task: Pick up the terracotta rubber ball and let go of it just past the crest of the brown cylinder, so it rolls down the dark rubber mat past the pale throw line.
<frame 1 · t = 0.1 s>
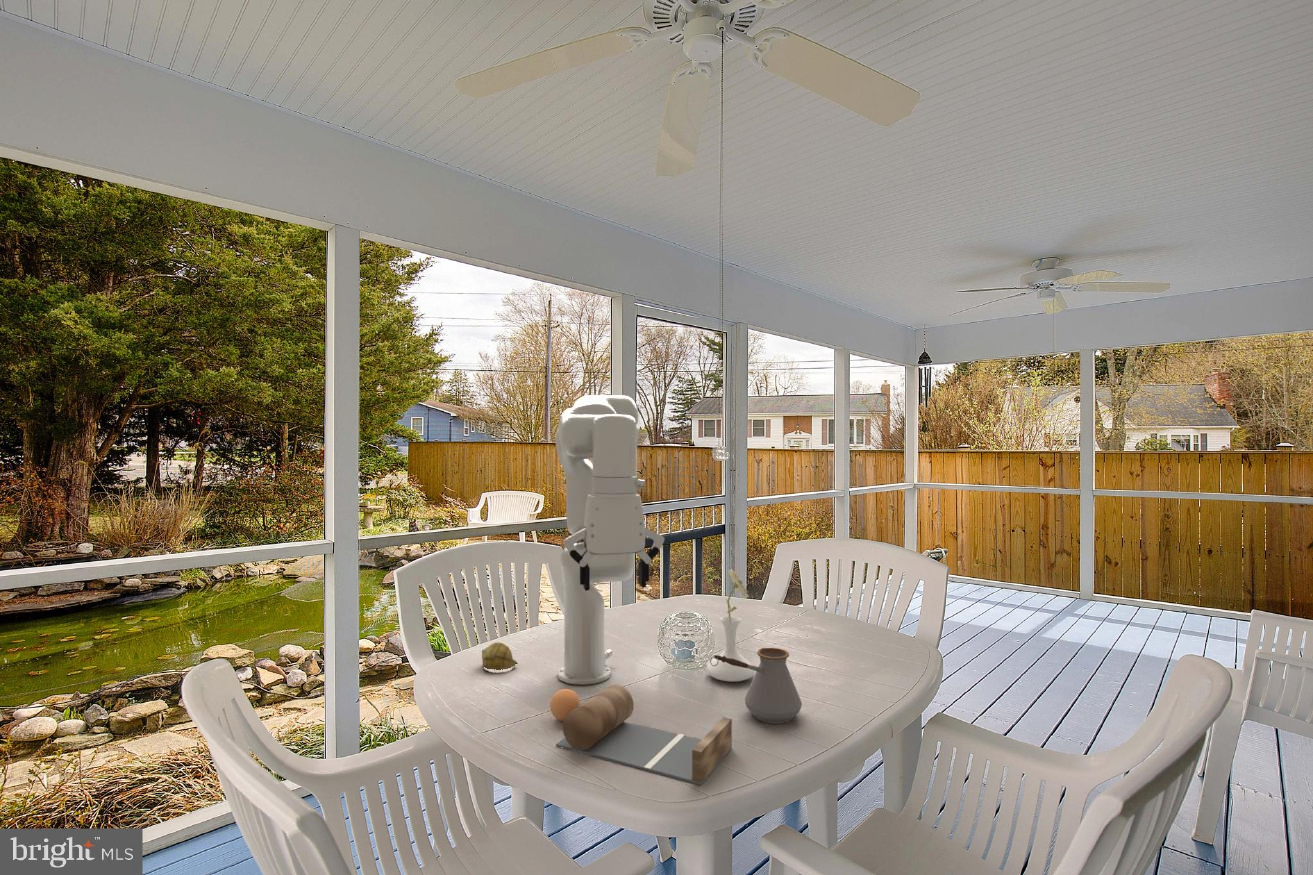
hand: (614, 587, 111), 31 cm above the table, tool pointing down, fingers open, 9 cm apart
flower in vase: (730, 676, 154), on the table
ball: (565, 704, 130), point 3 cm above the table
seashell: (499, 668, 160), on the table
throwing mat: (643, 747, 119), on the table
brown cylinder: (599, 736, 123), resting on throwing mat
backstop board: (713, 764, 112), resting on throwing mat
coffee pot: (754, 722, 130), on the table
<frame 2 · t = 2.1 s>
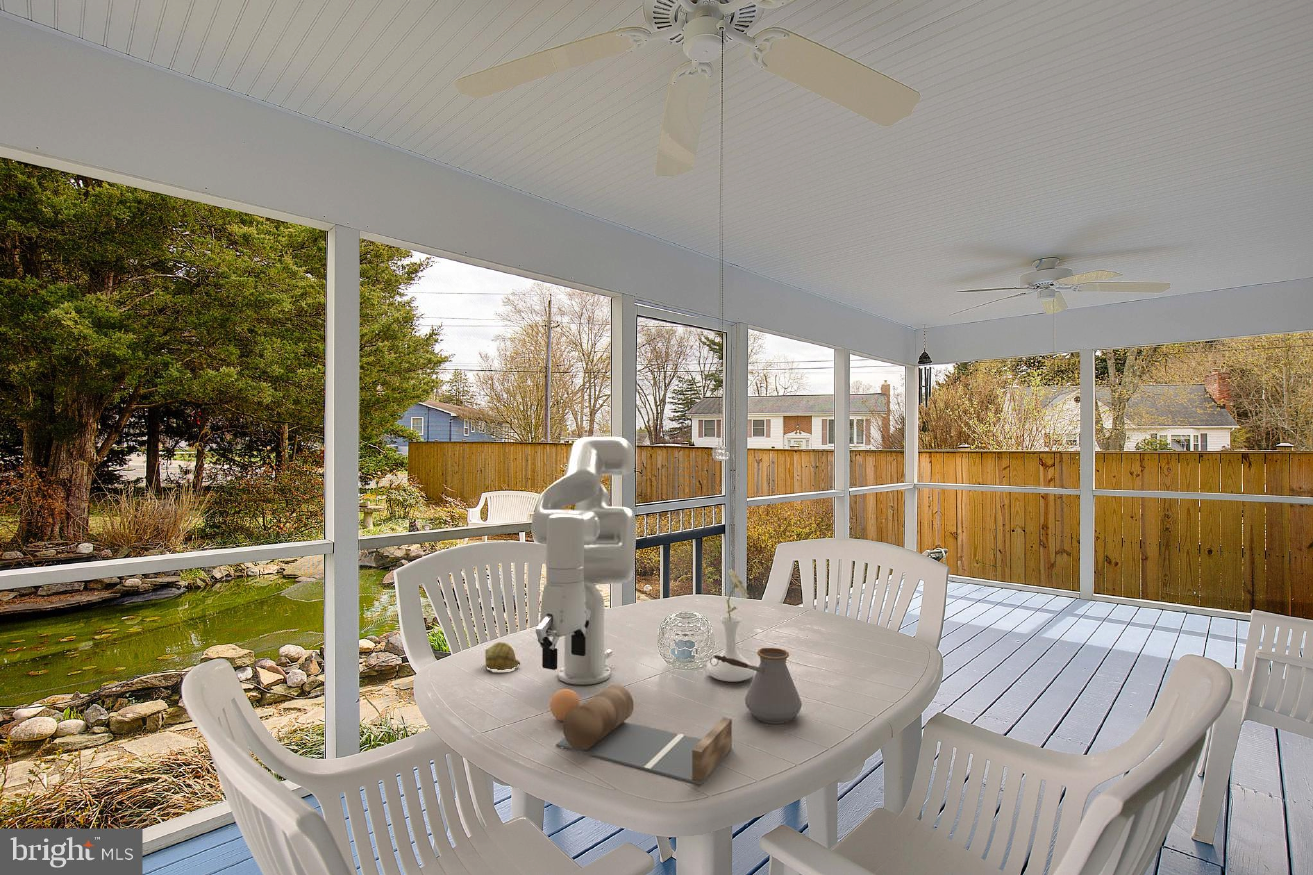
hand: (564, 661, 130), 12 cm above the table, tool pointing down, fingers open, 9 cm apart
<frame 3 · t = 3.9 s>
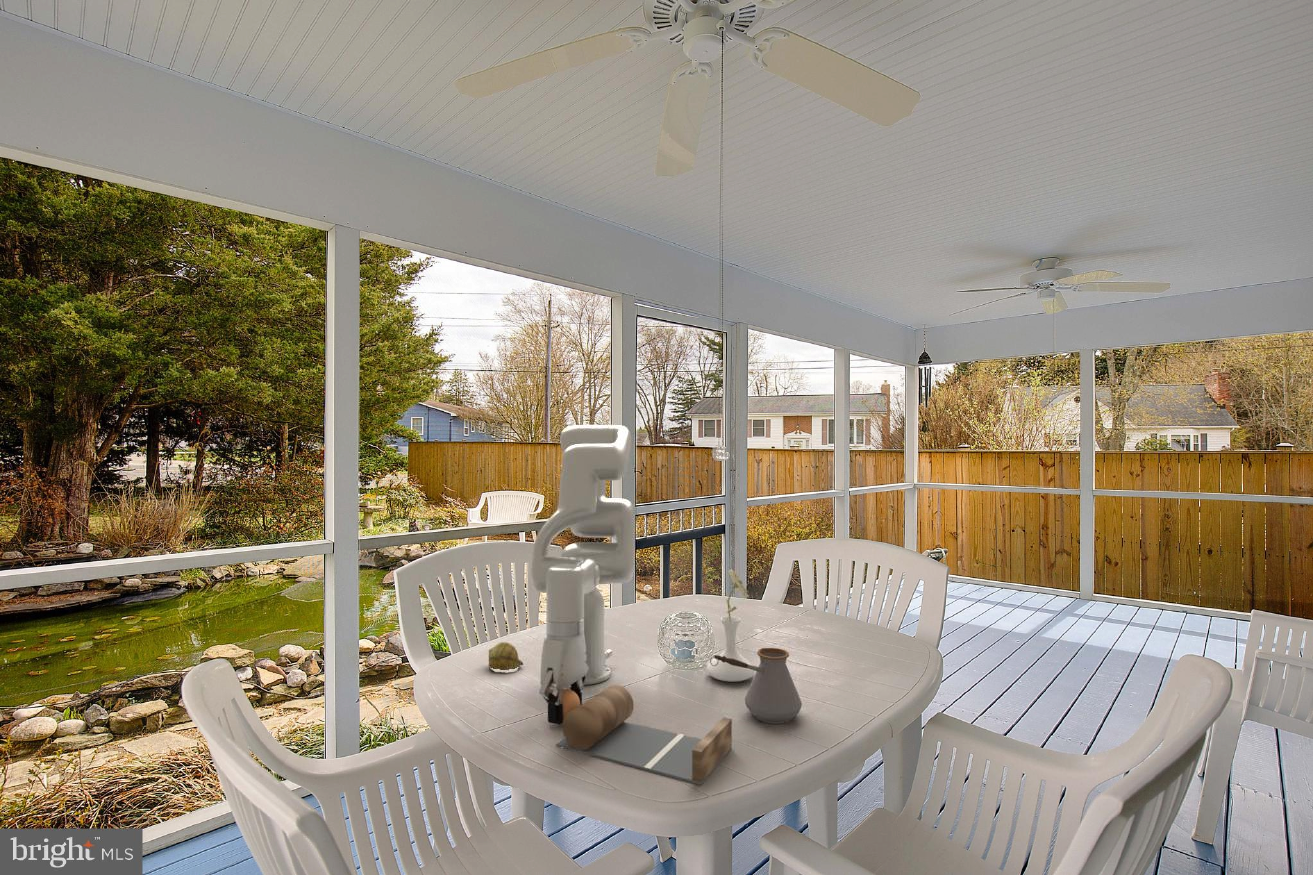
hand: (565, 715, 130), 1 cm above the table, tool pointing down, fingers closed on ball, 5 cm apart
ball: (565, 704, 130), point 3 cm above the table, touching gripper
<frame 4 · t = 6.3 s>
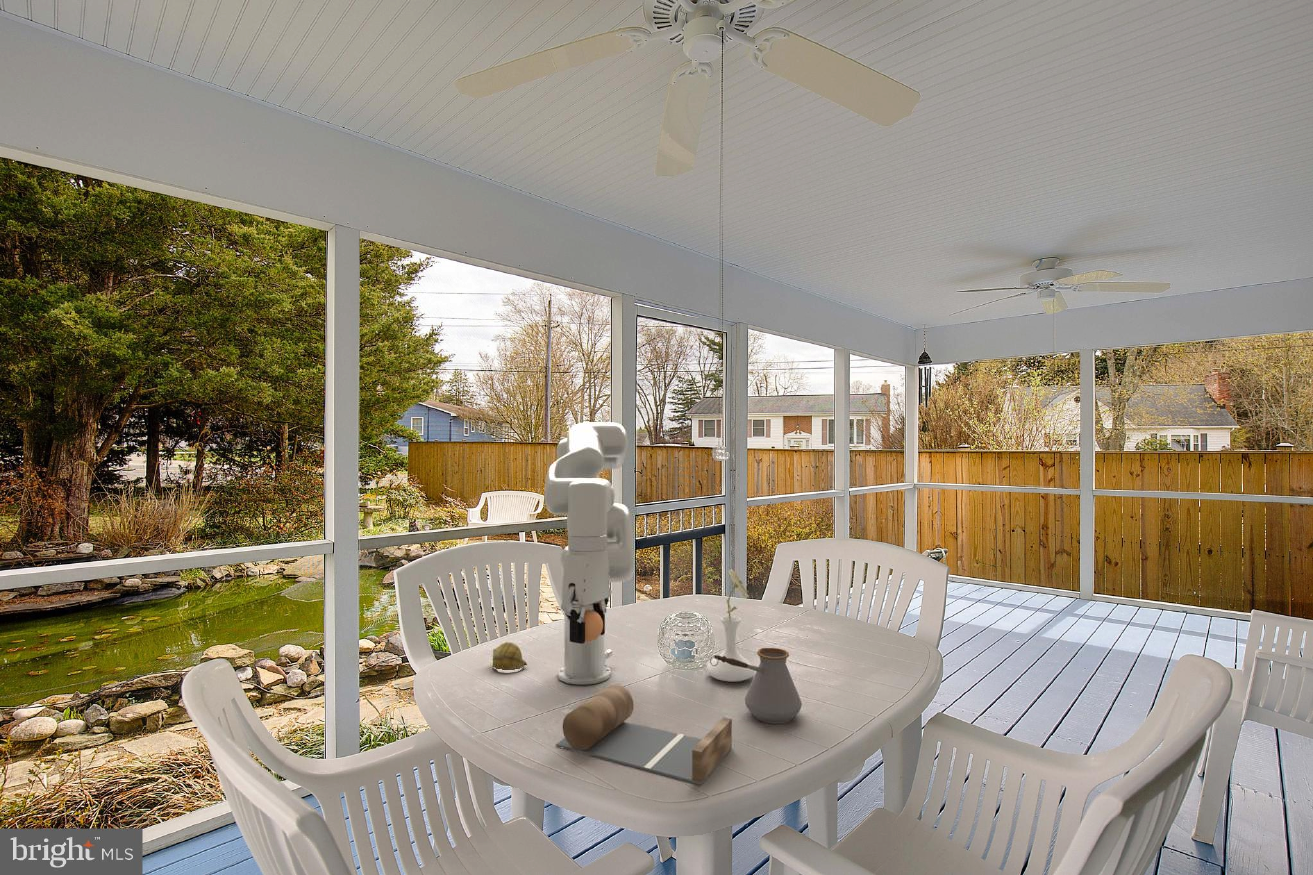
hand: (587, 637, 125), 18 cm above the table, tool pointing down, fingers closed on ball, 5 cm apart
ball: (587, 625, 125), point 20 cm above the table, touching gripper
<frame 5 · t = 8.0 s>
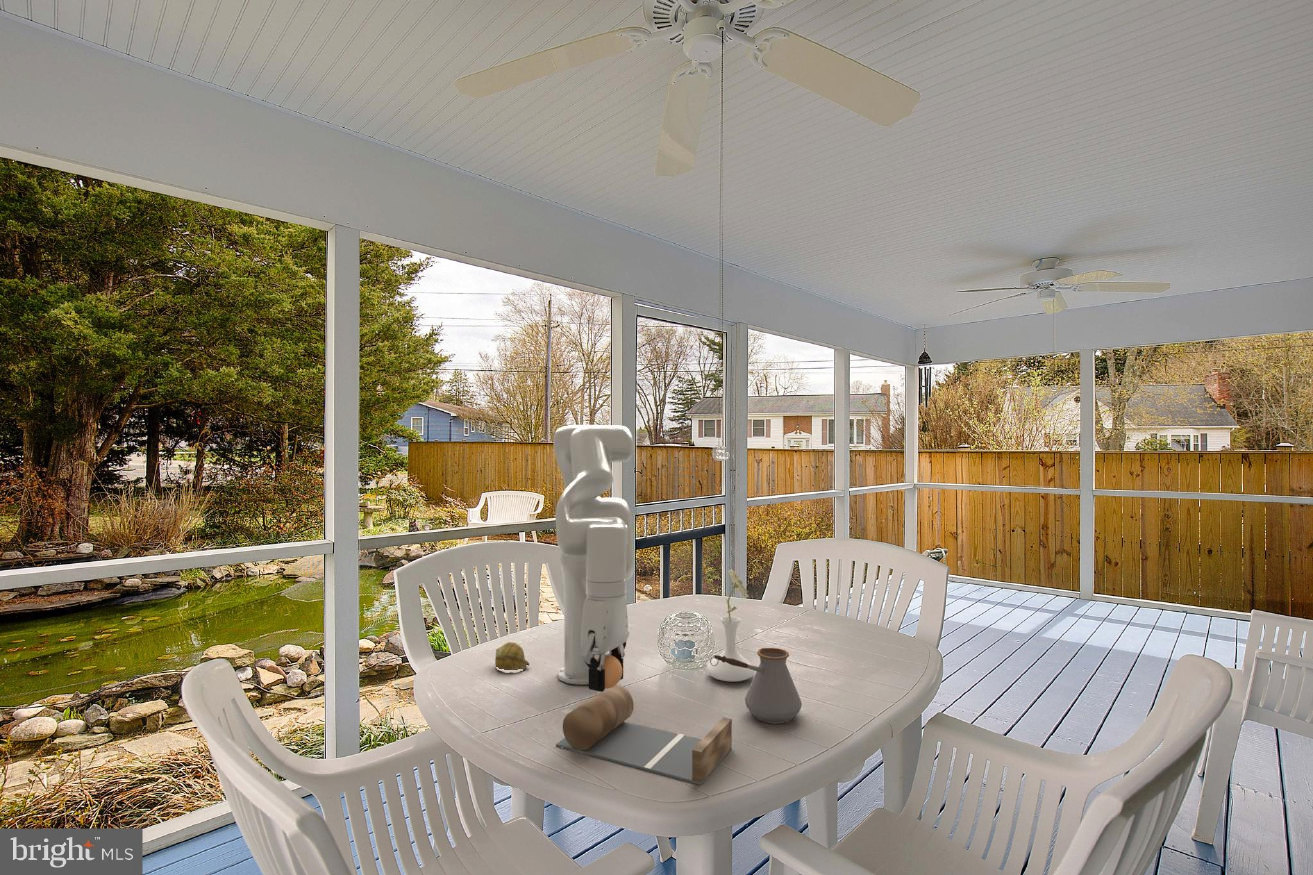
hand: (606, 683, 122), 10 cm above the table, tool pointing down, fingers closed on ball, 5 cm apart
ball: (606, 671, 122), point 13 cm above the table, touching gripper
when the fingers open (10 cm above the table, at t = 8.9 s): ball drops 9 cm, resting on throwing mat.
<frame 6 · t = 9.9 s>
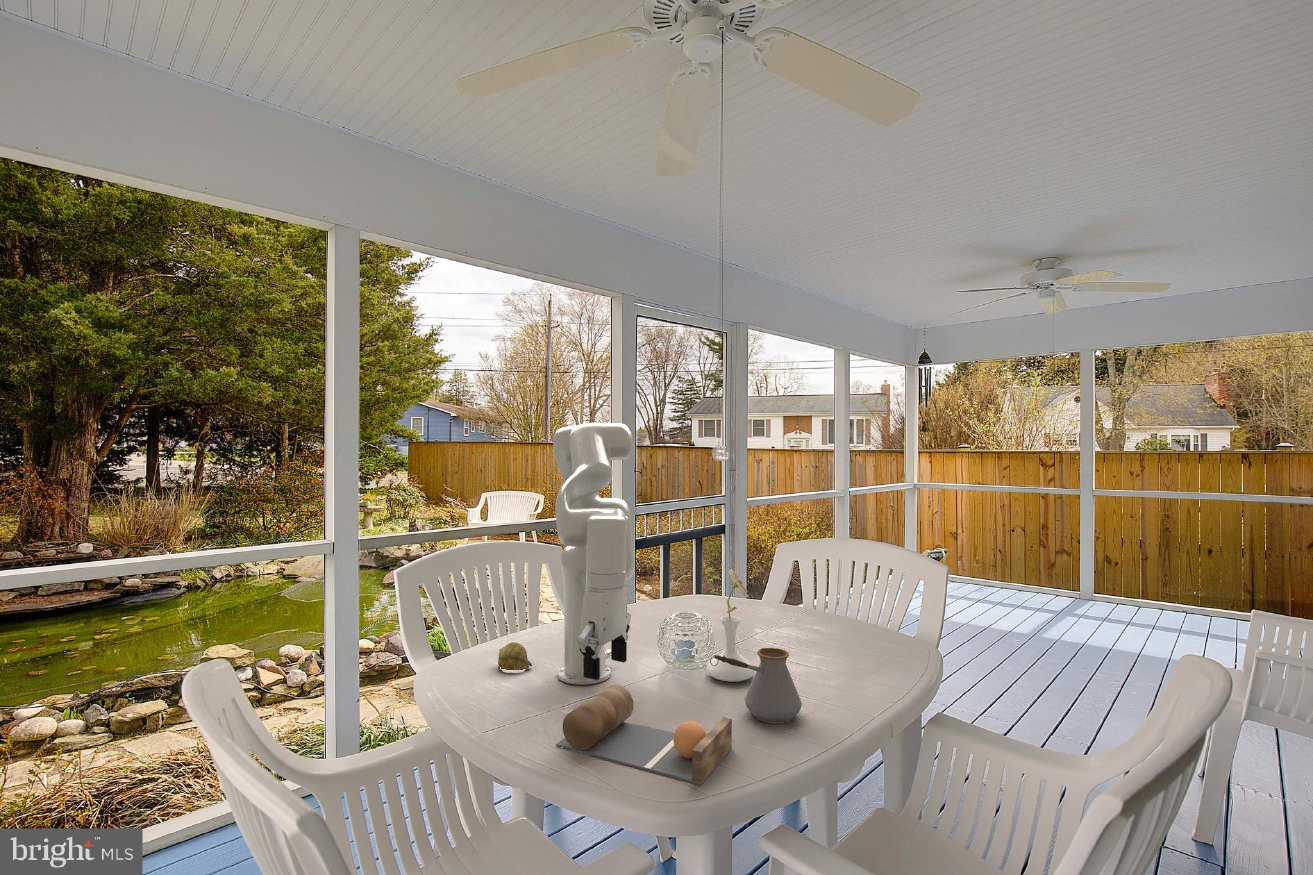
hand: (605, 669, 123), 13 cm above the table, tool pointing down, fingers open, 9 cm apart
ball: (690, 739, 114), point 3 cm above the table, tilted 26°, touching throwing mat
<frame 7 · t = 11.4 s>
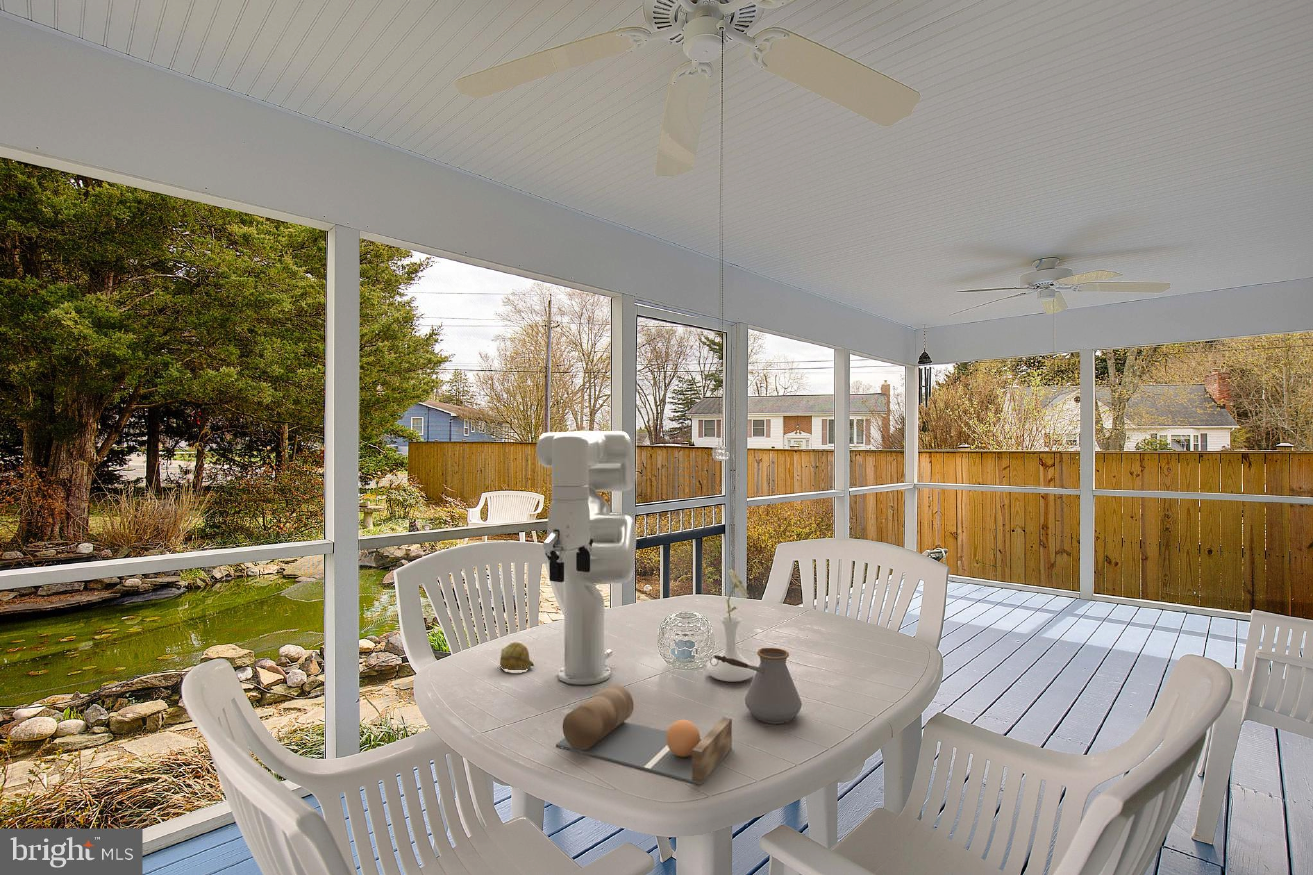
hand: (570, 576, 135), 28 cm above the table, tool pointing down, fingers open, 9 cm apart
ball: (683, 738, 115), point 3 cm above the table, touching throwing mat
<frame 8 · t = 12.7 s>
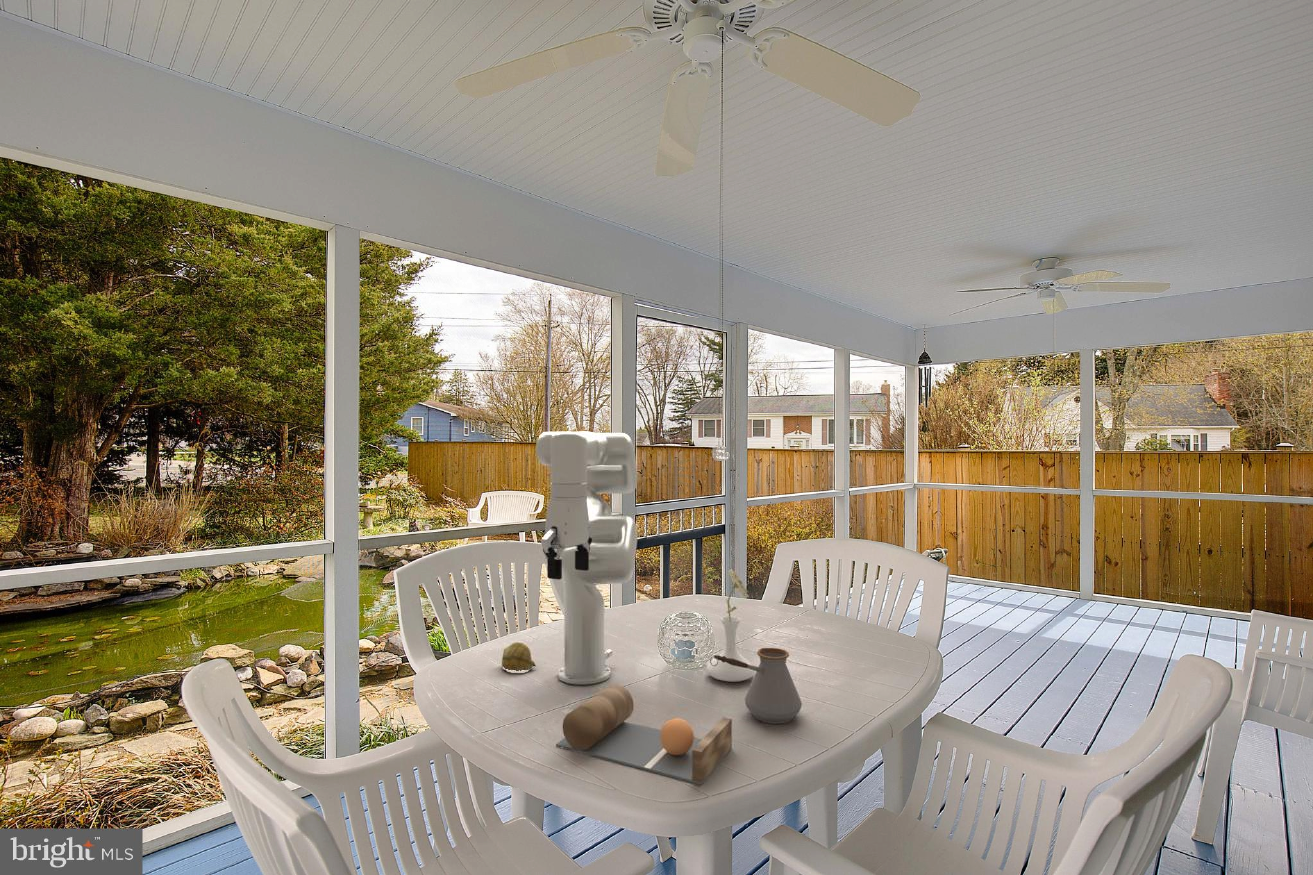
hand: (568, 574, 135), 28 cm above the table, tool pointing down, fingers open, 9 cm apart
ball: (676, 736, 116), point 3 cm above the table, tilted 25°, touching throwing mat
at the end: ball inside the target area (3.8 cm from its centre), point 3.4 cm above the table; the gripper is holding nothing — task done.
